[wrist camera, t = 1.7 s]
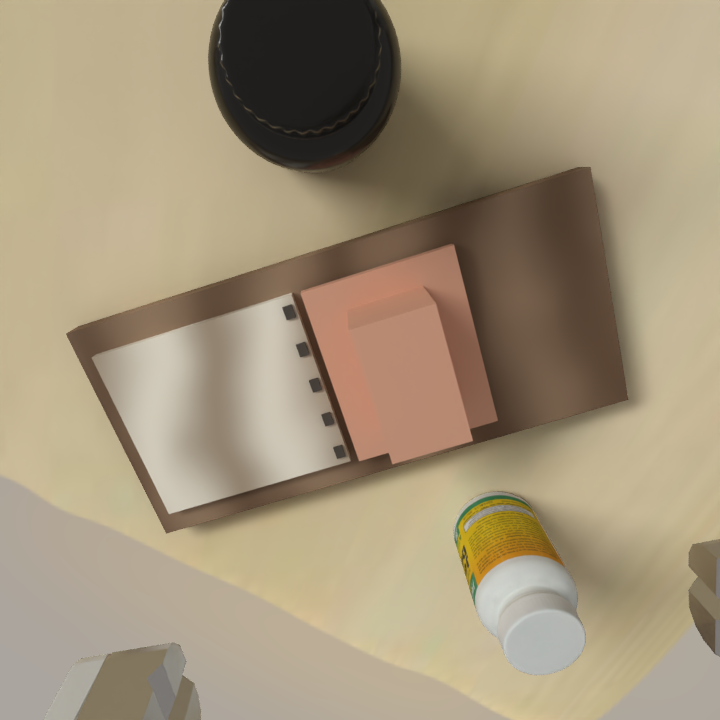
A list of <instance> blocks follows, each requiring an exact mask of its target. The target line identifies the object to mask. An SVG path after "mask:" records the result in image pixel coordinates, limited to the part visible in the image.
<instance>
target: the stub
mask: <svg viewBox="0 0 720 720" xmlns="http://www.w3.org/2000/svg"><path fill="white" fill-rule="evenodd" d="M301 296H302V299H303V302H304V305H305V308H306V311H307V313H308V316H309V319H310V322H311V325H312V328H313V331H314V333H315V336H316V339H317V342H318V345H319V348H320V351H321V354H322V356H323V359H324V362H325V365H326V368H327V371H328V374H329V376H330V379H331V382H332V385H333V388H334V391H335V394H336V396H337V399H338V402H339V405H340V408H341V411H342V414H343V416H344V419H345V422H346V425H347V428H348V431H349V434H350V436H351V439H352V442H353V445H354V448H355V451H356V454H357V456H358V459H359V461H362V460H365V459H369V458H372V457H376V456H379V455H383V454H386V453H389V455H390V458H391V461H392V464H395V463H399V462H402V461H406V460H409V459H412V458H416V457H419V456H423V455H426V454H430V453H433V452H437V451H440V450H443V449H447V448H450V447H454V446H457V445H461V444H464V443H468V442H471V441H473V439H472V435H471V432H470V429H472V428H475V427H479V426H482V425H485V424H489V423H492V422H496V421H498V419H497V415H496V411H495V407H494V403H493V399H492V395H491V391H490V387H489V383H488V379H487V375H486V371H485V367H484V363H483V359H482V355H481V351H480V347H479V343H478V339H477V335H476V331H475V327H474V323H473V319H472V315H471V311H470V307H469V303H468V299H467V295H466V291H465V287H464V283H463V279H462V275H461V271H460V267H459V263H458V259H457V255H456V251H455V247H454V245H453V244H449V245H446V246H442V247H439V248H436V249H433V250H430V251H427V252H423V253H420V254H417V255H414V256H411V257H407V258H404V259H401V260H398V261H395V262H392V263H388V264H385V265H382V266H379V267H376V268H372V269H369V270H366V271H363V272H360V273H357V274H353V275H350V276H347V277H344V278H341V279H337V280H334V281H331V282H328V283H325V284H322V285H318V286H315V287H312V288H309V289H306V290H302V291H301Z"/></svg>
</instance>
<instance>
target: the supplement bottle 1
mask: <svg viewBox="0 0 720 720" xmlns="http://www.w3.org/2000/svg"><path fill="white" fill-rule="evenodd" d="M208 64H209V75H210V81H211V86H212V90H213V94H214V97H215V100H216V102H217V105H218V107H219V109H220V111H221V113H222V115H223V117H224V119H225V121H226V122H227V124H228V125H229V127H230V128H231V130H232V131H233V132H234V134H235V135H236V136H237V137H238V138H239V139H240V140H241V141H242V142H243V143H244V144H245V145H246V146H247V147H248V148H249V149H250V150H252V151H253V152H254V153H256V154H257V155H259V156H260V157H262V158H263V159H265V160H267V161H269V162H271V163H273V164H275V165H278V166H281V167H284V168H288V169H291V170H296V171H300V172H306V173H322V172H328V171H332V170H335V169H338V168H340V167H342V166H344V165H346V164H348V163H350V162H351V161H353V160H354V159H355V158H357V157H358V156H359V155H360V154H361V153H363V152H364V151H365V150H366V149H367V148H368V147H369V146H370V145H371V144H372V143H373V142H374V141H375V140H376V139H377V137H378V136H379V135H380V133H381V132H382V130H383V129H384V127H385V126H386V124H387V122H388V120H389V118H390V116H391V114H392V112H393V109H394V106H395V103H396V100H397V96H398V92H399V86H400V79H401V56H400V48H399V43H398V38H397V35H396V31H395V28H394V26H393V23H392V20H391V18H390V16H389V14H388V12H387V10H386V8H385V7H384V5H383V4H382V2H381V0H224V2H223V4H222V5H221V7H220V9H219V12H218V14H217V16H216V19H215V22H214V24H213V28H212V32H211V36H210V43H209V54H208Z"/></svg>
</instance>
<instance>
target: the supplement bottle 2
mask: <svg viewBox="0 0 720 720" xmlns="http://www.w3.org/2000/svg"><path fill="white" fill-rule="evenodd" d="M453 533H454V539H455V543H456V546H457V549H458V553H459V556H460V559H461V562H462V565H463V568H464V572H465V575H466V579H467V582H468V585H469V589H470V592H471V595H472V598H473V601H474V605H475V608H476V611H477V614H478V616H479V618H480V620H481V622H482V624H483V625H484V627H485V628H486V629H487V630H488V631H489V632H490V633H491V634H492V635H494V636H495V637H497V638H498V640H499V642H500V644H501V647H502V649H503V652H504V654H505V656H506V658H507V660H508V662H509V663H510V664H511V665H512V666H513V667H514V668H516V669H517V670H519V671H521V672H524V673H527V674H531V675H546V674H551V673H555V672H558V671H561V670H563V669H565V668H566V667H568V666H569V665H571V664H572V663H573V662H574V661H575V660H576V659H577V658H578V657H579V656H580V654H581V653H582V651H583V649H584V646H585V641H586V634H585V630H584V627H583V625H582V623H581V621H580V619H579V617H578V614H577V612H576V608H577V602H578V596H577V589H576V585H575V583H574V580H573V578H572V577H571V575H570V573H569V571H568V570H567V568H566V566H565V565H564V563H563V561H562V559H561V558H560V556H559V554H558V552H557V551H556V549H555V547H554V545H553V544H552V542H551V540H550V538H549V537H548V535H547V533H546V531H545V530H544V528H543V526H542V524H541V523H540V521H539V519H538V517H537V516H536V514H535V512H534V510H533V509H532V507H531V506H530V505H529V504H528V503H527V502H526V501H525V500H524V499H522V498H520V497H518V496H516V495H513V494H510V493H506V492H488V493H484V494H481V495H479V496H477V497H475V498H473V499H472V500H470V501H469V502H468V503H467V504H465V506H464V507H463V508H462V509H461V510H460V512H459V514H458V516H457V518H456V520H455V524H454V530H453Z"/></svg>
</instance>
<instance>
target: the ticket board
mask: <svg viewBox="0 0 720 720" xmlns="http://www.w3.org/2000/svg"><path fill="white" fill-rule="evenodd" d="M449 244H453V245H454V247H455V251H456V255H457V259H458V263H459V267H460V271H461V275H462V279H463V283H464V287H465V291H466V295H467V299H468V303H469V307H470V311H471V315H472V319H473V323H474V327H475V331H476V335H477V339H478V343H479V347H480V351H481V355H482V359H483V363H484V367H485V371H486V375H487V379H488V383H489V387H490V391H491V395H492V399H493V403H494V407H495V411H496V415H497V419H498V421H496V422H492V423H489V424H485V425H482V426H479V427H475V428H472V429H470V432H471V435H472V439H473V441H471V442H468V443H464V444H461V445H457V446H454V447H450V448H447V449H443V450H440V451H437V452H433V453H430V454H426V455H423V456H419V457H416V458H412V459H409V460H406V461H402V462H399V463H395V464H392V461H391V458H390V455H389V453H386V454H383V455H379V456H376V457H372V458H369V459H365V460H362V461H359V459H358V456H357V454H356V451H355V448H354V445H353V442H352V439H351V436H350V434H349V431H348V428H347V425H346V422H345V419H344V416H343V414H342V411H341V408H340V405H339V402H338V399H337V396H336V394H335V391H334V388H333V385H332V382H331V379H330V376H329V374H328V371H327V368H326V365H325V362H324V359H323V356H322V354H321V351H320V348H319V345H318V342H317V339H316V336H315V333H314V331H313V328H312V325H311V322H310V319H309V316H308V313H307V311H306V308H305V305H304V302H303V299H302V296H301V291H302V290H306V289H309V288H312V287H315V286H318V285H322V284H325V283H328V282H331V281H334V280H337V279H341V278H344V277H347V276H350V275H353V274H357V273H360V272H363V271H366V270H369V269H372V268H376V267H379V266H382V265H385V264H388V263H392V262H395V261H398V260H401V259H404V258H407V257H411V256H414V255H417V254H420V253H423V252H427V251H430V250H433V249H436V248H439V247H442V246H446V245H449ZM66 335H67V337H68V339H69V341H70V343H71V345H72V347H73V349H74V351H75V353H76V355H77V357H78V359H79V361H80V363H81V365H82V367H83V369H84V371H85V373H86V375H87V377H88V379H89V381H90V383H91V385H92V387H93V389H94V391H95V393H96V395H97V397H98V399H99V401H100V402H101V404H102V406H103V408H104V410H105V412H106V414H107V416H108V418H109V420H110V422H111V424H112V426H113V428H114V430H115V432H116V434H117V436H118V438H119V440H120V442H121V444H122V446H123V448H124V450H125V452H126V454H127V456H128V458H129V460H130V462H131V464H132V466H133V468H134V470H135V472H136V474H137V476H138V478H139V480H140V482H141V484H142V486H143V488H144V490H145V492H146V494H147V496H148V498H149V500H150V502H151V504H152V506H153V508H154V510H155V512H156V514H157V516H158V518H159V520H160V522H161V524H162V526H163V528H164V530H165V532H166V533H169V532H173V531H176V530H180V529H183V528H187V527H190V526H194V525H197V524H200V523H204V522H207V521H211V520H214V519H218V518H221V517H225V516H228V515H231V514H235V513H238V512H242V511H245V510H249V509H252V508H256V507H259V506H263V505H266V504H269V503H273V502H276V501H280V500H283V499H287V498H290V497H294V496H297V495H300V494H304V493H307V492H311V491H314V490H318V489H321V488H325V487H328V486H332V485H335V484H338V483H342V482H345V481H349V480H352V479H356V478H359V477H363V476H366V475H370V474H373V473H376V472H380V471H383V470H387V469H390V468H394V467H397V466H401V465H404V464H407V463H411V462H414V461H418V460H421V459H425V458H428V457H432V456H435V455H439V454H442V453H445V452H449V451H452V450H456V449H459V448H463V447H466V446H470V445H473V444H476V443H480V442H483V441H487V440H490V439H494V438H497V437H501V436H504V435H508V434H511V433H514V432H518V431H521V430H525V429H528V428H532V427H535V426H539V425H542V424H546V423H549V422H552V421H556V420H559V419H563V418H566V417H570V416H573V415H577V414H580V413H583V412H587V411H590V410H594V409H597V408H601V407H604V406H608V405H611V404H615V403H618V402H621V401H625V400H628V396H627V390H626V383H625V377H624V371H623V365H622V359H621V353H620V347H619V340H618V334H617V328H616V322H615V316H614V310H613V303H612V297H611V291H610V285H609V279H608V273H607V266H606V260H605V254H604V248H603V242H602V236H601V230H600V223H599V217H598V211H597V205H596V199H595V193H594V186H593V180H592V174H591V168H590V167H578V168H574V169H571V170H568V171H565V172H562V173H559V174H556V175H553V176H549V177H546V178H543V179H540V180H537V181H534V182H531V183H527V184H524V185H521V186H518V187H515V188H512V189H509V190H505V191H502V192H499V193H496V194H493V195H490V196H487V197H483V198H480V199H477V200H474V201H471V202H468V203H465V204H461V205H458V206H455V207H452V208H449V209H446V210H443V211H439V212H436V213H433V214H430V215H427V216H424V217H421V218H417V219H414V220H411V221H408V222H405V223H402V224H399V225H395V226H392V227H389V228H386V229H383V230H380V231H377V232H373V233H370V234H367V235H364V236H361V237H358V238H355V239H351V240H348V241H345V242H342V243H339V244H336V245H333V246H330V247H326V248H323V249H320V250H317V251H314V252H311V253H308V254H304V255H301V256H298V257H295V258H292V259H289V260H286V261H282V262H279V263H276V264H273V265H270V266H267V267H264V268H260V269H257V270H254V271H251V272H248V273H245V274H242V275H238V276H235V277H232V278H229V279H226V280H223V281H220V282H216V283H213V284H210V285H207V286H204V287H201V288H198V289H194V290H191V291H188V292H185V293H182V294H179V295H176V296H172V297H169V298H166V299H163V300H160V301H157V302H154V303H150V304H147V305H144V306H141V307H138V308H135V309H132V310H129V311H125V312H122V313H119V314H116V315H113V316H110V317H107V318H103V319H100V320H97V321H94V322H91V323H88V324H85V325H81V326H78V327H77V328H75V329H73V330H72V331H70V332H68V333H67V334H66Z"/></svg>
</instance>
